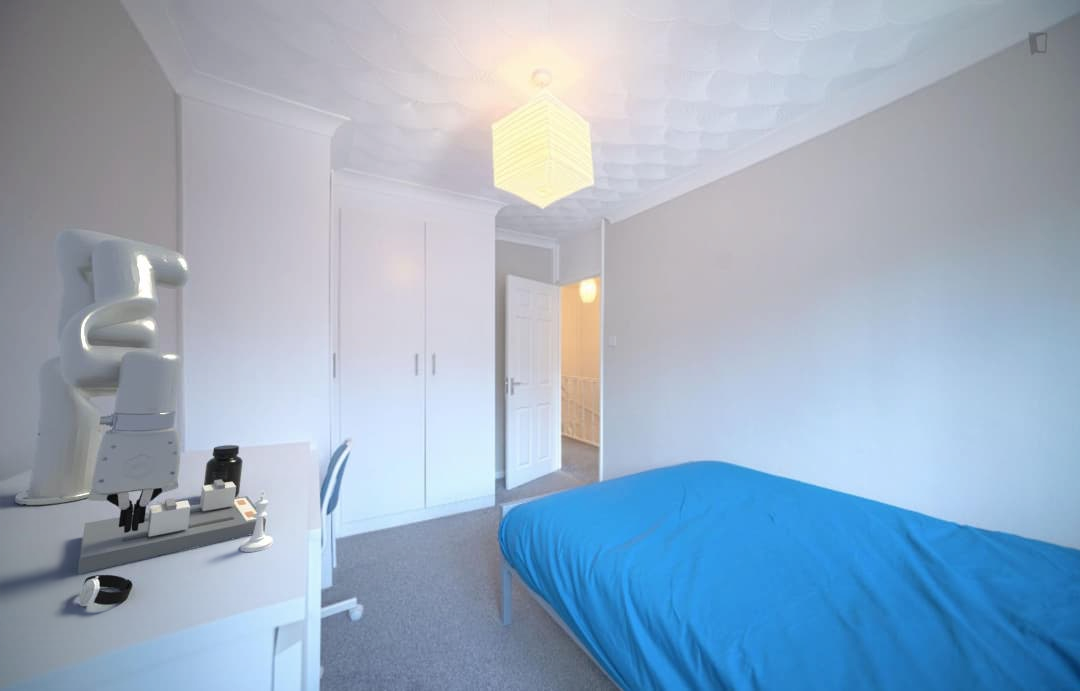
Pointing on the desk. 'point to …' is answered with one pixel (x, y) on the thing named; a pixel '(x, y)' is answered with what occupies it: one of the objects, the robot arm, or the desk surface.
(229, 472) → the supplement bottle
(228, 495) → the switch
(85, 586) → the watch
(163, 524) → the switch
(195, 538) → the switch panel
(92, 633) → the desk surface
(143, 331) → the robot arm
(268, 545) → the chess piece
